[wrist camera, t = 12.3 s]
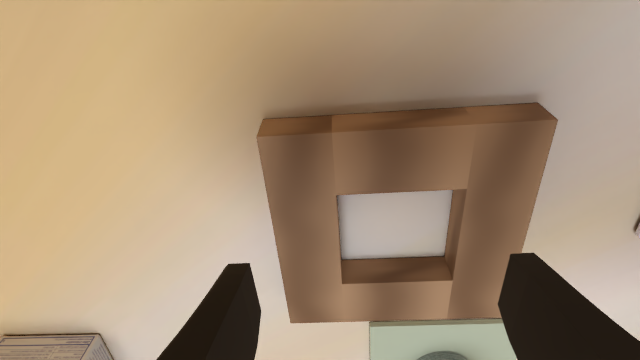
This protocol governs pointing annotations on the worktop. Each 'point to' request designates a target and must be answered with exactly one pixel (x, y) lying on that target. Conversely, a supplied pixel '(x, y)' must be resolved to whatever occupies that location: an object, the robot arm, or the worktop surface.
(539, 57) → the worktop surface
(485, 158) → the bore plate
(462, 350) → the rubber mat
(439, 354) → the shiny metal cylinder
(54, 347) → the medicine box
